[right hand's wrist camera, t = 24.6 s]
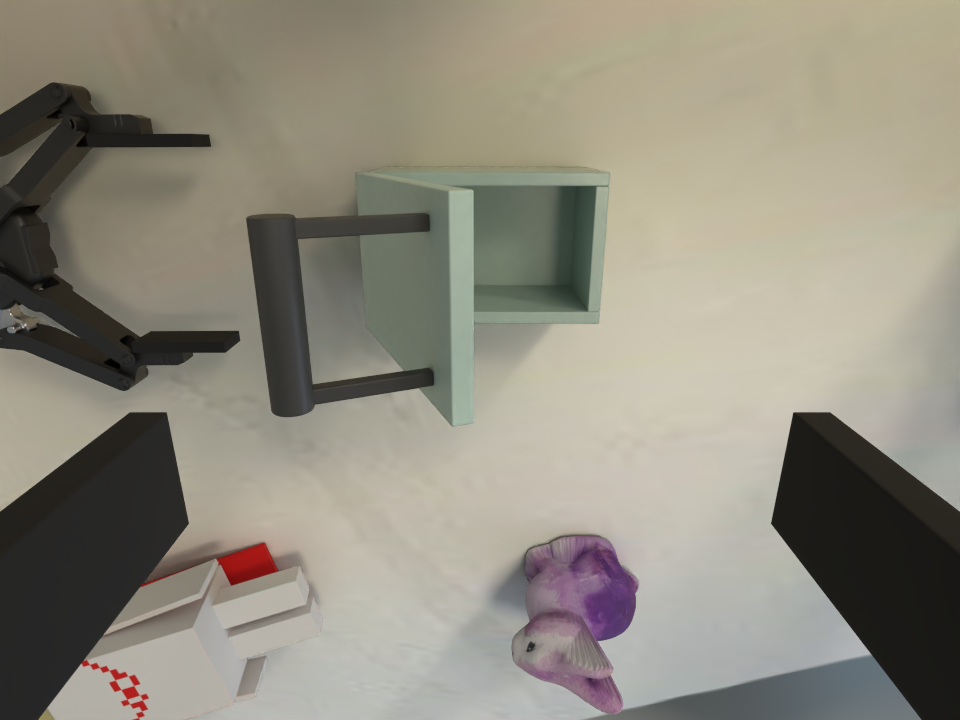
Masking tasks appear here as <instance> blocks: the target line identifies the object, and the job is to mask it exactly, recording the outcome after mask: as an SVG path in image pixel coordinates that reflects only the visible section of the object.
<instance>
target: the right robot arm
mask: <svg viewBox="0 0 960 720" xmlns="http://www.w3.org/2000/svg"><path fill="white" fill-rule="evenodd" d="M188 524H189V522H188V517H187V512H186V507H185V502H184V497H183V492H182V487H181V482H180V477H179V472H178V467H177V462H176V457H175V452H174V447H173V442H172V437H171V432H170V427H169V422H168V417H167V412H130V413H129V414H127V415H126V416H125V417H123V418H122V419H121V420H119V421H118V422H117V423H116V424H114V425H113V426H112V427H110V428H109V429H108V430H106V431H105V432H104V433H102V434H101V435H100V436H99V437H97V438H96V439H95V440H93V441H92V442H91V443H89V444H88V445H87V446H86V447H84V448H83V449H82V450H80V451H79V452H78V453H76V454H75V455H74V456H72V457H71V458H70V459H69V460H67V461H66V462H65V463H63V464H62V465H61V466H59V467H58V468H57V469H55V470H54V471H53V472H52V473H50V474H49V475H48V476H46V477H45V478H44V479H42V480H41V481H40V482H38V483H37V484H36V485H35V486H33V487H32V488H31V489H29V490H28V491H27V492H25V493H24V494H23V495H21V496H20V497H19V498H18V499H16V500H15V501H14V502H12V503H11V504H10V505H8V506H7V507H6V508H5V509H3V510H2V511H1V512H0V720H38V719H39V718H40V717H41V716H42V714H43V713H44V712H45V710H46V709H47V708H48V706H49V705H50V704H51V702H52V701H53V700H54V699H55V697H56V696H57V695H58V693H59V692H60V691H61V689H62V688H63V687H64V686H65V684H66V683H67V682H68V680H69V679H70V678H71V676H72V675H73V674H74V673H75V671H76V670H77V669H78V667H79V666H80V665H81V663H82V662H83V661H84V660H85V658H86V657H87V656H88V654H89V653H90V652H91V650H92V649H93V648H94V646H95V645H96V644H97V643H98V641H99V640H100V639H101V637H102V636H103V635H104V633H105V632H106V631H107V630H108V628H109V627H110V626H111V624H112V623H113V622H114V620H115V619H116V618H117V617H118V615H119V614H120V613H121V611H122V610H123V609H124V607H125V606H126V605H127V604H128V602H129V601H130V600H131V598H132V597H133V596H134V594H135V593H136V592H137V591H138V589H139V588H140V587H141V585H142V584H143V583H144V581H145V580H146V579H147V577H148V576H149V575H150V574H151V572H152V571H153V570H154V568H155V567H156V566H157V564H158V563H159V562H160V561H161V559H162V558H163V557H164V555H165V554H166V553H167V551H168V550H169V549H170V548H171V546H172V545H173V544H174V542H175V541H176V540H177V538H178V537H179V536H180V535H181V533H182V532H183V531H184V529H185V528H186V527H187V525H188ZM771 524H772V525H773V527H774V528H775V529H776V531H777V532H778V533H779V535H780V536H781V537H782V538H783V540H784V541H785V542H786V544H787V545H788V546H789V548H790V549H791V550H792V551H793V553H794V554H795V555H796V557H797V558H798V559H799V561H800V562H801V563H802V564H803V566H804V567H805V568H806V570H807V571H808V572H809V574H810V575H811V576H812V577H813V579H814V580H815V581H816V583H817V584H818V585H819V587H820V588H821V589H822V591H823V592H824V593H825V594H826V596H827V597H828V598H829V600H830V601H831V602H832V604H833V605H834V606H835V607H836V609H837V610H838V611H839V613H840V614H841V615H842V617H843V618H844V619H845V620H846V622H847V623H848V624H849V626H850V627H851V628H852V630H853V631H854V632H855V633H856V635H857V636H858V637H859V639H860V640H861V641H862V643H863V644H864V645H865V647H866V648H867V649H868V650H869V652H870V653H871V654H872V656H873V657H874V658H875V659H876V661H877V662H878V663H879V665H880V666H881V667H882V669H883V670H884V671H885V673H886V674H887V675H888V676H889V678H890V679H891V680H892V682H893V683H894V684H895V686H896V687H897V688H898V689H899V691H900V692H901V693H902V695H903V696H904V697H905V699H906V700H907V701H908V702H909V704H910V705H911V706H912V708H913V709H914V710H915V712H916V713H917V714H918V715H919V717H920V718H921V719H922V720H960V512H959V511H958V510H957V509H955V508H954V507H953V506H952V505H950V504H949V503H948V502H946V501H945V500H944V499H942V498H941V497H940V496H939V495H937V494H936V493H935V492H933V491H932V490H931V489H929V488H928V487H927V486H925V485H924V484H923V483H922V482H920V481H919V480H918V479H916V478H915V477H914V476H912V475H911V474H910V473H908V472H907V471H906V470H905V469H903V468H902V467H901V466H899V465H898V464H897V463H895V462H894V461H893V460H891V459H890V458H889V457H888V456H886V455H885V454H884V453H882V452H881V451H880V450H878V449H877V448H876V447H874V446H873V445H872V444H871V443H869V442H868V441H867V440H865V439H864V438H863V437H861V436H860V435H859V434H858V433H856V432H855V431H854V430H852V429H851V428H850V427H848V426H847V425H846V424H844V423H843V422H842V421H841V420H839V419H838V418H837V417H835V416H834V415H833V414H831V413H830V412H793V417H792V422H791V427H790V432H789V437H788V442H787V447H786V452H785V457H784V462H783V467H782V472H781V477H780V482H779V487H778V492H777V497H776V502H775V507H774V512H773V517H772V522H771Z"/></svg>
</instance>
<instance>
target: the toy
mask: <svg viewBox="0 0 960 720" xmlns="http://www.w3.org/2000/svg"><path fill="white" fill-rule="evenodd" d="M309 589H310V588H309V586H308V583H307V581H306V579H305V576H304V574H303V572H302V570H301V567H300V565H299V566H295V567H292V568H289V569H285V570H282V571H278V569H277V567H276V565H275V563H274V561H273V559H272V557H271V555H270V553H269V551H268V549H267V547H266V545H265V543H262V544H259V545H257V546H254V547H251V548H248V549H245V550H242V551H239V552H236V553H233V554H230V555H227V556H224V557H221V558H218V559H213V560H211V561H208V562H206V563H203V564H200V565H198V566H195V567H192V568H189V569H186V570H183V571H180V572H177V573H174V574H171V575H168V576H165V577H162V578H159V579H156V580H153V581H150V582H148V583H145V584H142V585H141V587H140V588H139V589H138V591H137V592H136V593H135V594H134V596H133V597H132V598H131V600H130V601H129V602H128V604H127V605H126V606H125V607H124V609H123V610H122V611H121V613H120V614H119V615H118V617H117V618H116V619H115V620H114V622H113V623H112V624H111V626H110V627H109V628H108V630H107V631H106V632H105V633H104V635H103V636H102V637H101V639H100V640H99V641H98V643H97V644H96V645H95V646H94V648H93V649H92V650H91V652H90V653H89V654H88V656H87V657H86V658H85V660H84V661H83V662H82V663H81V665H80V666H79V667H78V669H77V670H76V671H75V673H74V674H73V675H72V676H71V678H70V679H69V680H68V682H67V683H66V684H65V686H64V687H63V688H62V689H61V691H60V692H59V693H58V695H57V696H56V697H55V699H54V700H53V701H52V702H51V704H50V705H49V706H48V708H47V709H46V710H45V712H44V713H43V714H42V716H41V717H40V718H39V719H38V720H186V719H189V718H192V717H195V716H198V715H202V714H205V713H208V712H211V711H214V710H218V709H221V708H224V707H227V706H230V705H234V702H239V701H243V700H248V699H252V698H256V697H257V694H258V691H259V688H260V685H261V681H262V678H263V675H264V672H265V668H266V665H267V662H268V659H267V656H263V657H258V658H254V659H249V660H247V659H248V657H252V656H255V655H258V654H261V653H265V652H268V651H271V650H274V649H277V648H281V647H284V646H287V645H290V644H294V643H297V642H300V641H303V640H307V639H310V638H313V637H316V636H320V633H321V627H322V621H323V617H322V615H321V613H320V611H319V608H318V606H317V604H316V601H315V599H314V597H310V598H308V594H309Z"/></svg>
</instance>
